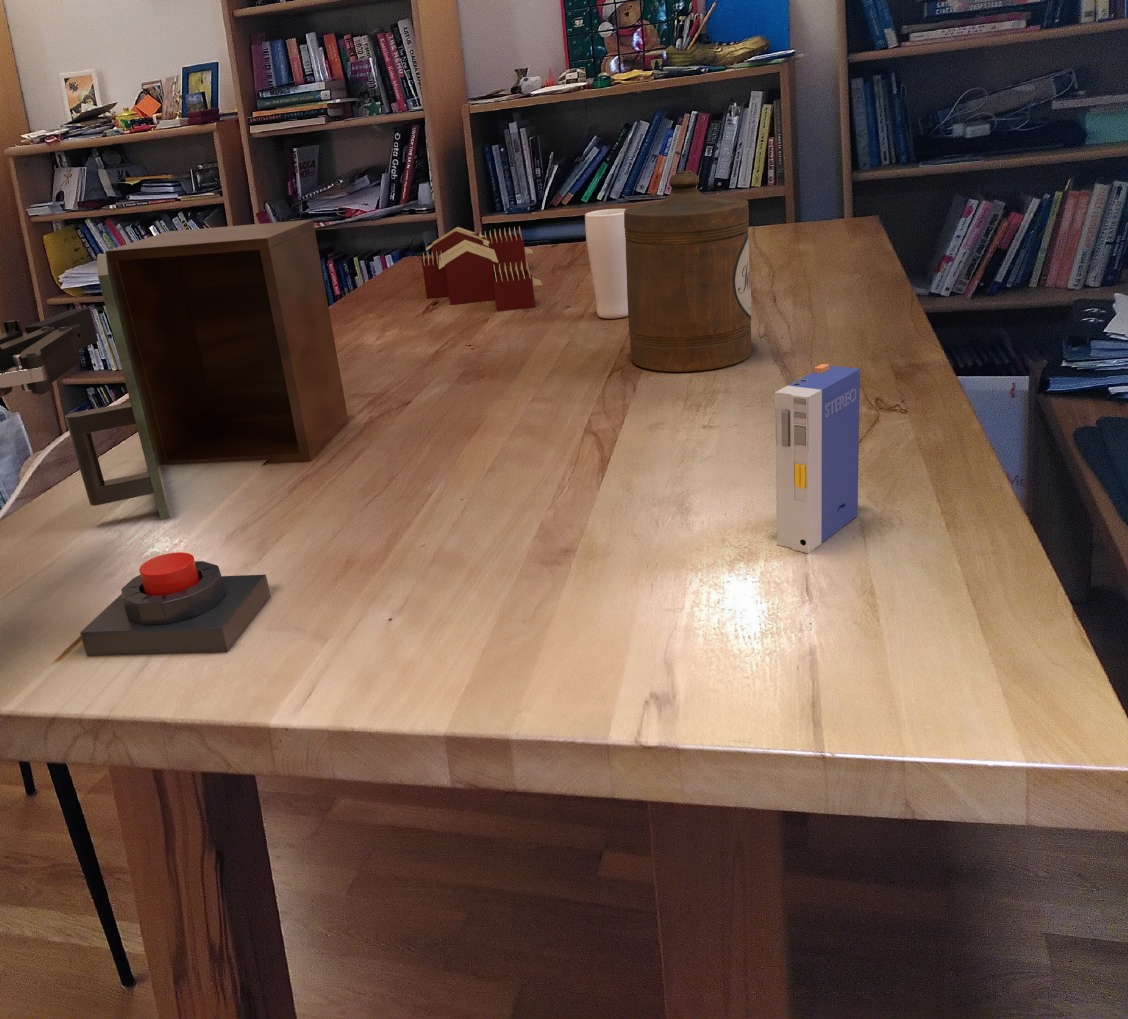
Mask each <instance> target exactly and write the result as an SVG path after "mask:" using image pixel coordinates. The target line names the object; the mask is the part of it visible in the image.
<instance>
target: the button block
mask: <svg viewBox="0 0 1128 1019" xmlns="http://www.w3.org/2000/svg"><path fill="white" fill-rule="evenodd" d="M195 564H196V568H197V572H198V576H199V582H198V583H197V584H196V585H194V586H192V587H190V588H188V589H186V590H184V591H181V592H177V593H173V594H169V595H160V596H149V595H146V594H145V591H144V587H143V583H142V579H141V576H140V574H138V575H137V576H134V577H132V578H131V579H130V580H129V581H128V582H127V583H126V584H125V585H124V586H122V588H121V590H120V591H121V592H120V593H121V594H119V595H118V596H117V597H116V598H115V599H114V600H113V601H112V602H110V604H109V605H107V607H105V609H104V610H102V611H101V612H100V613H99V614H98V615H97V616H96V617H95V618H94V619H93V620H92V621H91V622H89V623H88V624H87V625H86V626H85V627H84V628H83V629H82V630H81V631H80V632H79V635H80V638H81V641H82V645H83V648H84V651H85V654H86V657H107V656H108V657H109V656H111V657H113V656H144V655H145V656H146V655H151V656H152V655H180V654H181V655H182V654H187V655H188V654H218V653H222V654H223V653H224V654H225V653H228V652H229V651H230V650H231V649H232V648H233V646H234V645H235V644H236V642H237V641H238V639H240V637H241V636H242V635H243V633H244V632H245V631H246V630H247V628H248V627H249V626H250V624H251V623H252V622H253V621H254V619H255V618H256V616H257V615H258V614H259V613H260V612H261V611H262V609H263V608H264V606H266V604H267V603H268V601H269V600H270V599H271V597H272V596H271V591H270V586H269V582H268V577H267V574H243V575H222V573H221V570H220V567H219V565H217V564H214V563H211V562H207V561H204V560H195Z"/></svg>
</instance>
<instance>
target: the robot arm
mask: <svg viewBox="0 0 1128 1019" xmlns="http://www.w3.org/2000/svg"><path fill="white" fill-rule="evenodd" d="M92 315H93V314H92V310H91V308H90V307H81V308H71V309H69V310H66V311H63V312H60V313H58V314H55V315H53V316H51V317H48V318H45V319H42V320H40V321H38V322H35V323H32V324H29V325H27V326H25V327H24V329H25V332H23V329H22V326H21V322H20V319H13V320H11V319H10V320H6V321H3V322H2V325H3V328H4V332H3V333H0V399H1V398H2V397H4V396H7V395H9V394H11V393H12V391H13V387H16V386H20V387H21V391H22V392H24V393H27V392H31V394H32V395H44V394H47V392H50V391H51V390H52V386H51V385H52V384H53V383H54V382H56V381H57V380H58V379H59V378H60V377H62V376H64V375H65V374H66V373H67V372H69V370H71V369H72V368H74V367H75V366H76V365H77V364H79V363H80V362H81V361H82V359H81V354H80V352H79V351H80V350H82V349H84V348H87V347H88V346H90V345H93V344H95V343H97V342H99V338H98V334H97V330H96V326H95V323H94V319H93V316H92Z"/></svg>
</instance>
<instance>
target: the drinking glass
mask: <svg viewBox="0 0 1128 1019" xmlns="http://www.w3.org/2000/svg"><path fill="white" fill-rule="evenodd" d="M626 209H627V208H607V209H599V210H598V209H597V210H593V211H589V212H586V213H584V230H585V241H586V242H585V243H586V249H587V256H588V261H589V267H590V274H591V280H592V287H593V294H594V298H595V308H596V316H598V317H599V318H601V319H605V320H616V319H622V318H626V317H628V300H627V271H626V241H625V240H626V238H625V228H624V211H625V210H626Z"/></svg>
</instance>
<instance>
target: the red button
mask: <svg viewBox="0 0 1128 1019" xmlns="http://www.w3.org/2000/svg"><path fill="white" fill-rule="evenodd" d="M195 561H196V560H195V557H194V555H193V554H191V553H189V552H184V551H183V552H182V551H181V552H180V551H177V552H168V553H165V554H161V555H157V556H155V557H152V558H150V559H148V560H146V561H144V562H143V563H142V564H141V565H140V566H139V568H138V572H139V575H140V576H141V579H142V583H143V587H144V591H145V594H146V595H149V596H160V595H169V594H173V593H177V592H181V591H184V590H186V589H188V588H190V587H192V586H194V585H196V584H197V583H198V582H199V576H198V572H197V568H196V564H195Z"/></svg>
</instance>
